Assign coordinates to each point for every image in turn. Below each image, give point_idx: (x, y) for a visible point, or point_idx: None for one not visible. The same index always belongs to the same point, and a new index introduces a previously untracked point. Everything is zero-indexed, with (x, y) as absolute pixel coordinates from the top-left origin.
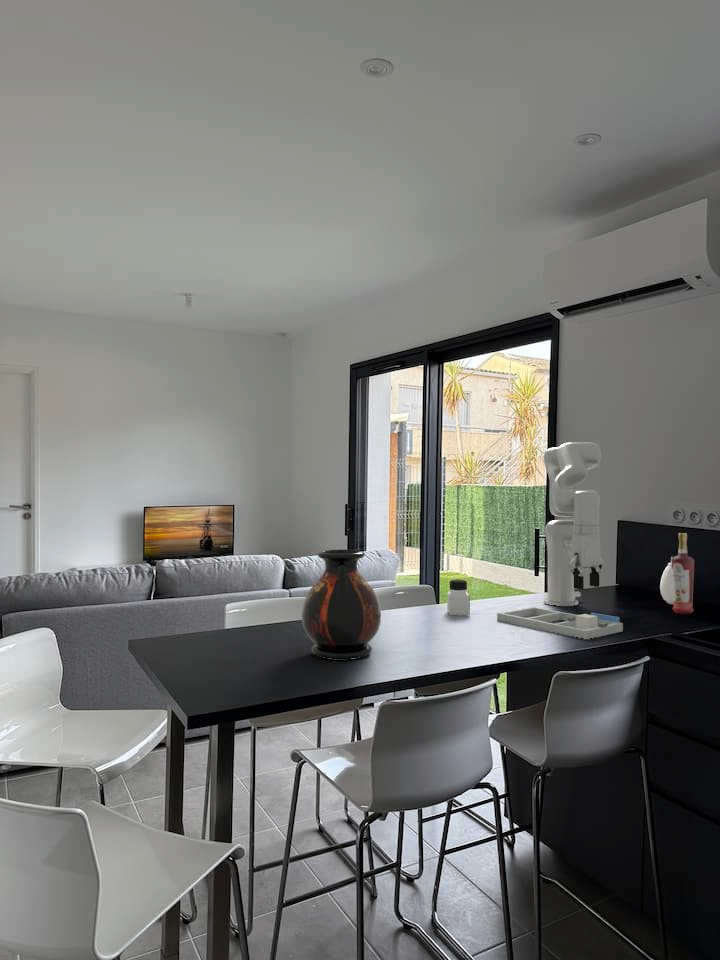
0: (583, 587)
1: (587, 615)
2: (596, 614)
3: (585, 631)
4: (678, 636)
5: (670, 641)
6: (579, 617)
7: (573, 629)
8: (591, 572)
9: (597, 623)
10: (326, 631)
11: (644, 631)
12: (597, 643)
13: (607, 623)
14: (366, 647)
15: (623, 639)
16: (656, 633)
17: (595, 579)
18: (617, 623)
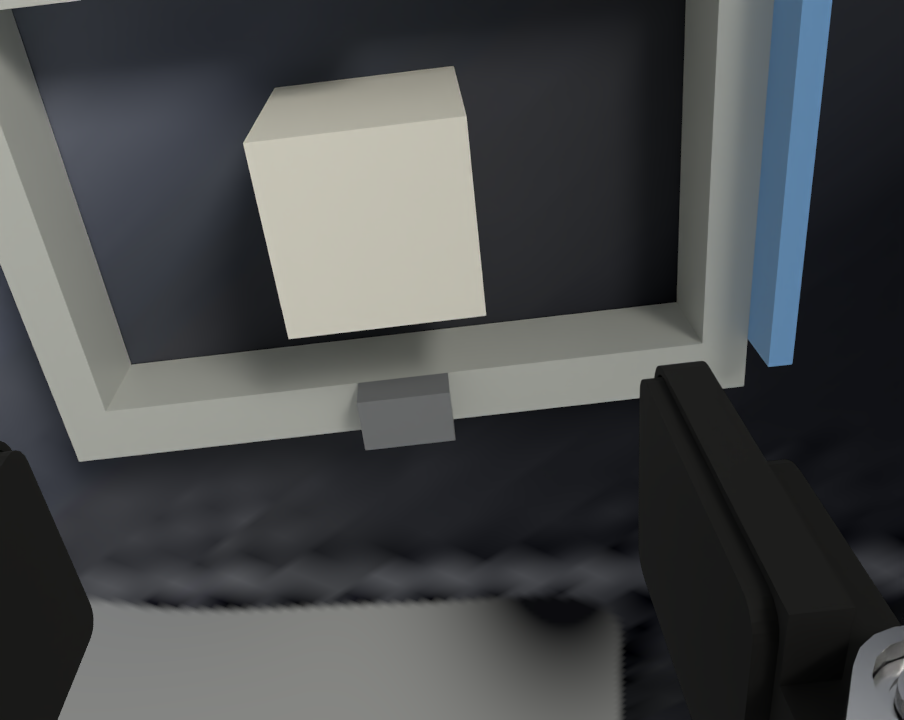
0: (70, 661)
1: (401, 224)
2: (795, 32)
3: (77, 446)
4: None
5: (668, 701)
6: (258, 197)
7: (23, 310)
8: (853, 664)
9: (697, 74)
10: None
11: (867, 435)
12: (107, 533)
13: (699, 224)
14: None
15: (425, 537)
16: (861, 524)
17: (685, 647)
18: None
